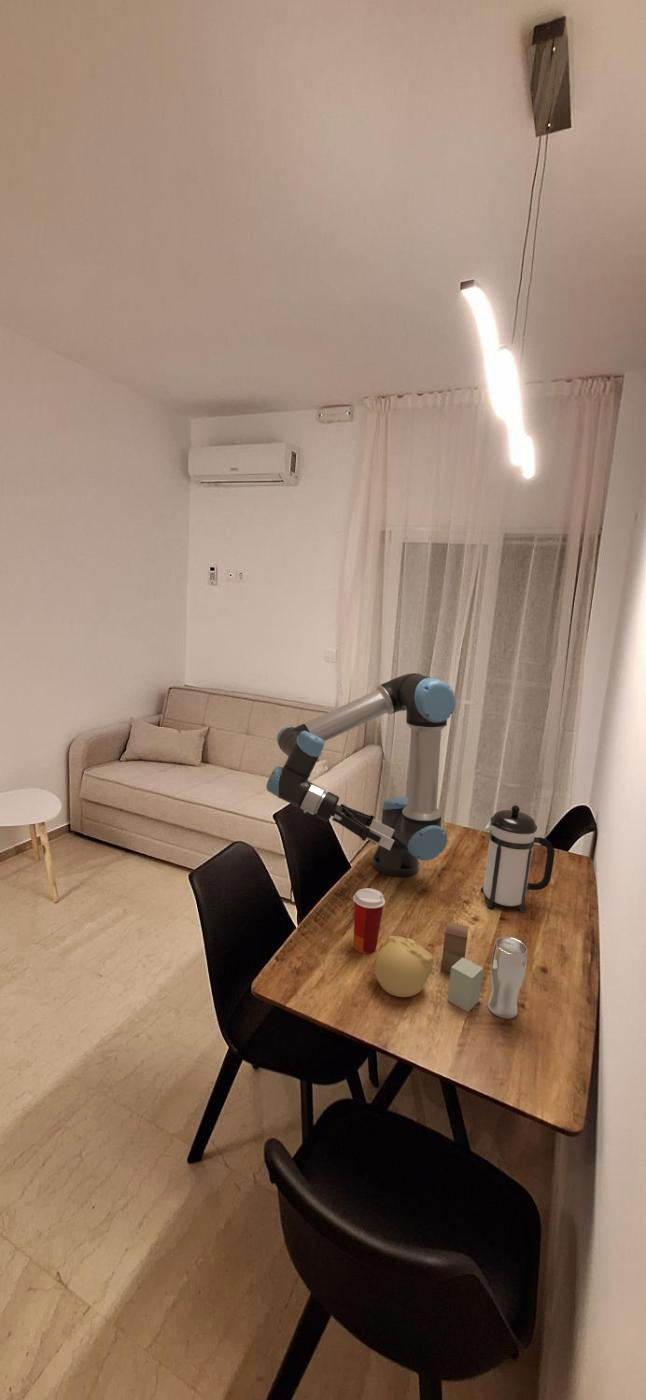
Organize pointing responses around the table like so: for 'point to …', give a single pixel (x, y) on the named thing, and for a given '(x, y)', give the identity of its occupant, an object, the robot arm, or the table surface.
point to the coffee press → (512, 858)
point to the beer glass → (507, 976)
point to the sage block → (465, 984)
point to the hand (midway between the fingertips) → (392, 839)
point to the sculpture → (403, 967)
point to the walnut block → (453, 945)
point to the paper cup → (367, 919)
